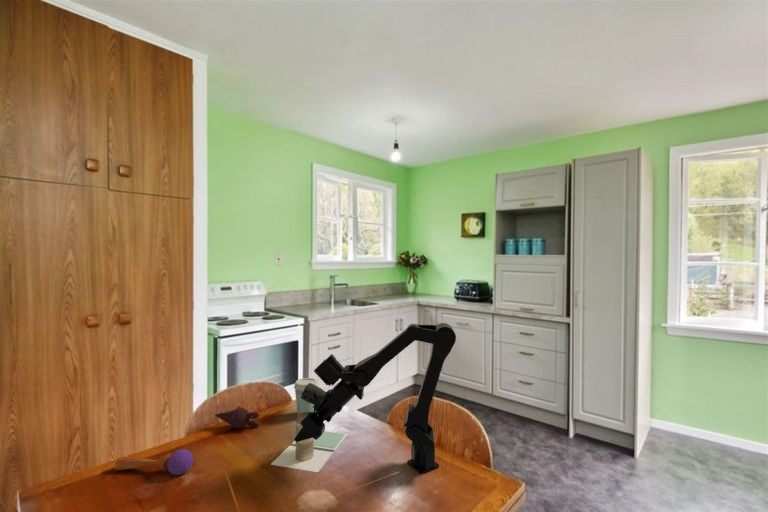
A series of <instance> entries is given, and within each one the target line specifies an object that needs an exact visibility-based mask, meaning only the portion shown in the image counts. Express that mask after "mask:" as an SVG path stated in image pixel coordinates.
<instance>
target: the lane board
mask: <svg viewBox="0 0 768 512" xmlns="http://www.w3.org/2000/svg"><path fill="white" fill-rule="evenodd" d="M347 435H348V433H343V432H335V431H329V430H324V432H323V434H322V435H321V436H320V437H319V438H318V439H317V440H315V439H314V455H313V458H312V459H310V460H307V461H299V460H297V459H296V441H295V440H294V441H293V442H291V443H290V444H289V446H288V447H286V449H284V450H283V452H281V454H279V455H278V456H277V457H276V458H275V460H272V462H271V464H270V466H271V465H272V466H276V467H284V468H289V469H296V470H301V471H305V472H306V471H307V472H313V473H319V472H320V471H321V469H322V468H323V466H324V465H325V464H326V463H327V461H328V460H329V459H330V458H331V456H332V455H333V453H334V452H335V451H336V449H338V447H339V446H340V445H341V443H342V442H343V440H344V439H345V438H346V436H347Z"/></svg>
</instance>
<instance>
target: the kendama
mask: <svg viewBox="0 0 768 512" xmlns="http://www.w3.org/2000/svg"><path fill="white" fill-rule="evenodd" d="M124 457H125V458H124ZM118 459H119V460H118ZM193 463H194V455H193V454H192V452H191V451H190V450H188V449H186V448H181V449H178V450H175V451H174V452H173V453H171V452H169V453H167V454H165V455H164V456H162V457H159V458H158V459H149V458H141V457H133V456H123V455H122V456H119V457H117V459H116V460H115V464H114V469H115V470H116V471H117V470H118V471H124V470H132V469H137V468H143V467H149V466H156V467H158V468H160V469H161V470H162V471H164V472H169V473H170V474H172V475H174V476H181V475H184V474H185V473H187V472H188V471H189V470H190V469H191V467H192V465H193Z"/></svg>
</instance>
